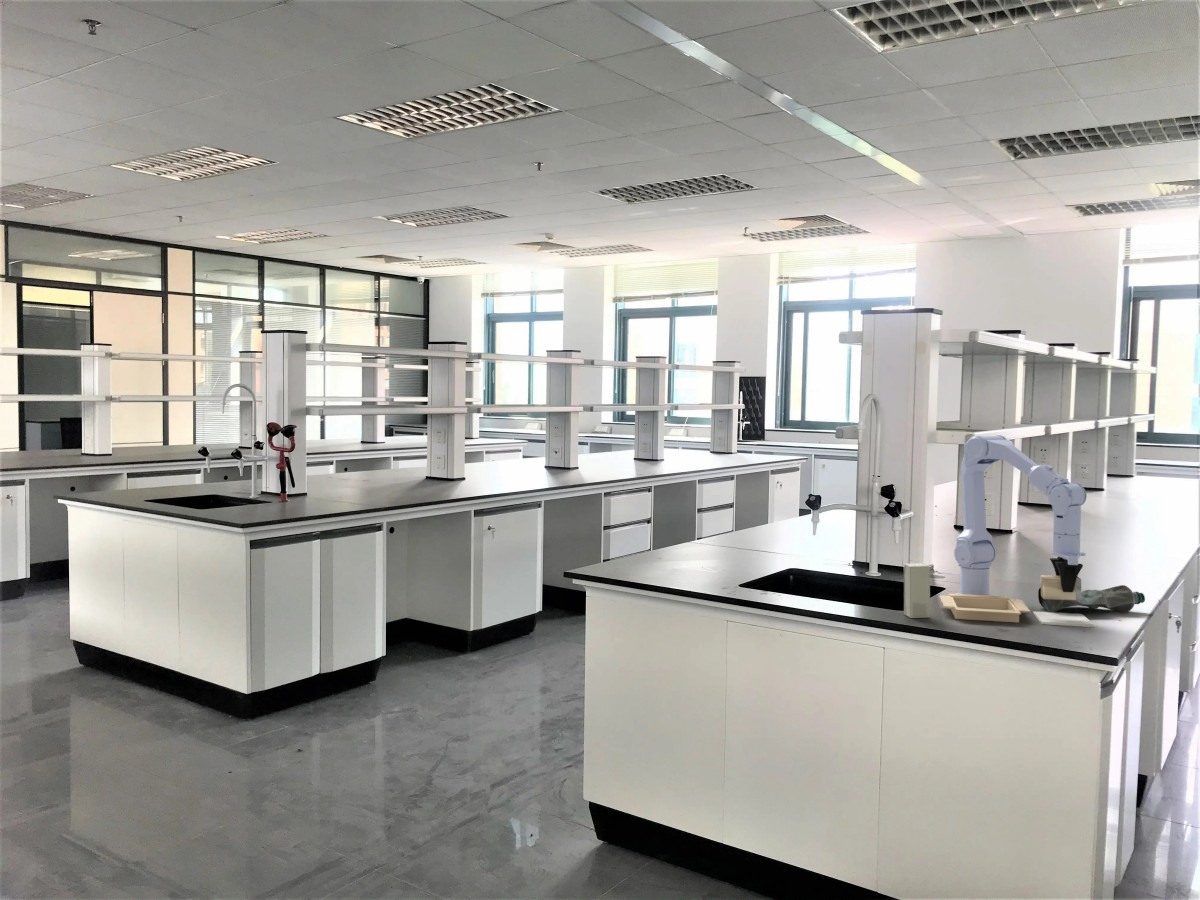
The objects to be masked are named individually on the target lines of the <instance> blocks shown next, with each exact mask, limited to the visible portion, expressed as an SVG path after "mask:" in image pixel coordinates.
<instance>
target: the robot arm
mask: <svg viewBox="0 0 1200 900" xmlns="http://www.w3.org/2000/svg"><path fill="white" fill-rule="evenodd" d="M1001 460H1002V461H1005V462H1007V464H1009V465H1011V466H1013V467H1014V468H1016V469H1017V470H1018V471H1021V472H1022V474H1025V475H1026V476H1027V477H1028V478H1027V479H1028V482H1029V484H1031V486H1033V487H1035V488H1036V489H1037V490H1038V491H1040V492H1041V493H1043V494H1044V495H1045V496H1046V497H1048V502H1049V503H1050V505H1051V507H1052V513H1053V532H1052V533H1053V534H1052V535H1053V536H1052V542H1053V543H1052V551H1051V554H1052V555H1053V556H1056V557H1057V558H1055V557H1051V558H1049V560H1050V562H1051V564H1052V566H1053V568H1054V573H1055V576H1060V579H1061V586H1062V590H1063V592H1073V590H1074V587H1075V583H1076V579H1077V576H1078V575H1080V572H1081V570H1082V569H1083V567H1084V565H1083V563H1079V558H1080V557H1086V552H1084V551H1081V521H1082V515H1081V513H1082V506H1083V505H1084V504H1085V502H1086V500H1087V492H1086V489H1085V488H1084V487H1083V486H1082V484H1081V483H1079V482H1070V481H1069V478H1067V477H1066V476H1065V477H1063V476H1062V475H1060V474H1059V473H1057V471H1055V470H1054V467H1053V466H1051V465H1049V464H1039V465H1038V464H1037V463H1036V462H1034V460H1032V459H1031V458H1030V457H1028V456H1027V455H1026V454H1025V453H1023V452H1022V451H1021V450H1020V449H1019V448H1018V447H1016V446H1015V445H1014V443H1013V441H1012V440H1009V439H1008V438H1006V437H1005V436H1004V435H1001V434H996V435H973V436H971V437H970V438H969V439H968V440H967V441H966V442H964V444H963V457H962V460H961V464H960V470H961V472H960V473H961V493H962V496H961V497H962V516H963V517H962V519H963V530H962V531H961V532H960V534H959V535H958V536H957V537H956V540H955V541H956V544H955V548H954V549H953V550H954V551H953V554H954V555H953V556H954V558H955V561H956V563H958V567H959V568H960V570H959V571H960V573H959V575H960V576H959V578H960V579H959V592H956V593H955V594H969V595H988V596H990V577H991V576H990V570H991V569H990V567H992V563H993V562H994V561H996V557H997V549H996V547H995V545H994V538H993V535H991V533H990V532H989V531H988V530H987V519H986V518H987V515H986V497H985V496H986V495H985V494H986V493H985V471H986V470H987V469H988V468H989V467H990V466H991V465H992V464H994V463H997V462H999V461H1001ZM1078 577H1079V576H1078Z"/></svg>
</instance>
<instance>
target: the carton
mask: <svg viewBox="0 0 1200 900" xmlns="http://www.w3.org/2000/svg"><path fill="white" fill-rule="evenodd" d="M939 598H940V600H941V603H942V605H943V608H946V609H947V608H948V609H949V608H950V610H951V613H952V615H953V617H954V619H955V620H956V619H957V620H971V621H987V622H1006V623H1020V615H1022V612H1023V613H1031V610H1030V609H1029V608H1028V606H1027V605H1026V604H1025V603H1024V601H1023V599H1016V598H1010V597H1009V596H1005V595H1003V596H1002V595H989V596H988V595H969V594H956V593H948V595H939Z"/></svg>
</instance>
